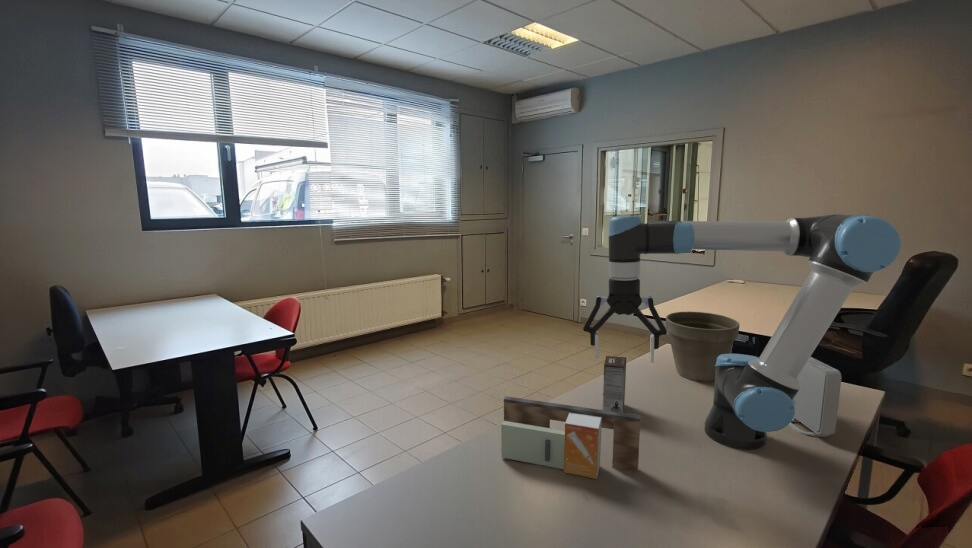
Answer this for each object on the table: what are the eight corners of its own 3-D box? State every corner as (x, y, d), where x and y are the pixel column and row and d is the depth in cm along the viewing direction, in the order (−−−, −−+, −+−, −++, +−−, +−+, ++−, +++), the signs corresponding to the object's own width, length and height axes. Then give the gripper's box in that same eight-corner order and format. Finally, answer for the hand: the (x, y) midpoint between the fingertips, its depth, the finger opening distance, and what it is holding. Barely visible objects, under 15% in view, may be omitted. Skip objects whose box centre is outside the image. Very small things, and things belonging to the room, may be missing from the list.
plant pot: (731, 393, 152) (736, 332, 149) (656, 379, 166) (659, 322, 162) (737, 370, 173) (742, 316, 170) (670, 359, 186) (673, 308, 183)
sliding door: (565, 464, 110) (566, 430, 109) (563, 472, 108) (563, 437, 106) (503, 453, 116) (503, 420, 114) (500, 459, 113) (499, 426, 112)
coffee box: (604, 401, 147) (605, 354, 144) (624, 404, 145) (626, 356, 142) (602, 414, 138) (603, 364, 136) (623, 417, 136) (625, 366, 134)
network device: (757, 401, 146) (762, 342, 143) (784, 401, 146) (790, 342, 143) (811, 442, 121) (818, 372, 118) (844, 442, 121) (852, 372, 117)
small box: (563, 473, 108) (564, 422, 106) (568, 459, 114) (568, 411, 112) (597, 480, 105) (599, 428, 103) (600, 465, 111) (602, 416, 109)
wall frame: (638, 468, 110) (640, 415, 108) (637, 472, 108) (640, 418, 106) (505, 444, 121) (505, 396, 119) (503, 447, 119) (503, 399, 117)
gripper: (676, 275, 112) (674, 357, 115) (575, 275, 119) (576, 351, 122) (679, 280, 105) (677, 367, 108) (572, 279, 112) (573, 360, 115)
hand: (623, 359), depth 115 cm, fingers open, 13 cm apart
